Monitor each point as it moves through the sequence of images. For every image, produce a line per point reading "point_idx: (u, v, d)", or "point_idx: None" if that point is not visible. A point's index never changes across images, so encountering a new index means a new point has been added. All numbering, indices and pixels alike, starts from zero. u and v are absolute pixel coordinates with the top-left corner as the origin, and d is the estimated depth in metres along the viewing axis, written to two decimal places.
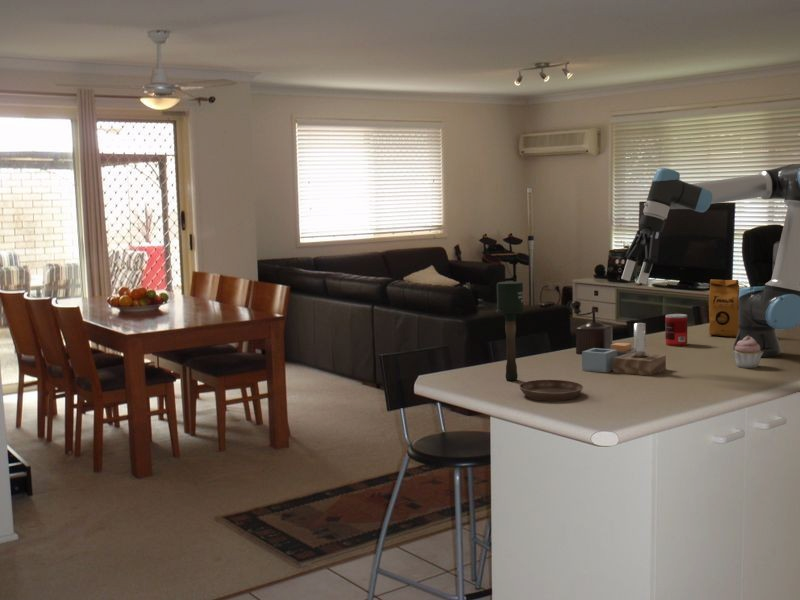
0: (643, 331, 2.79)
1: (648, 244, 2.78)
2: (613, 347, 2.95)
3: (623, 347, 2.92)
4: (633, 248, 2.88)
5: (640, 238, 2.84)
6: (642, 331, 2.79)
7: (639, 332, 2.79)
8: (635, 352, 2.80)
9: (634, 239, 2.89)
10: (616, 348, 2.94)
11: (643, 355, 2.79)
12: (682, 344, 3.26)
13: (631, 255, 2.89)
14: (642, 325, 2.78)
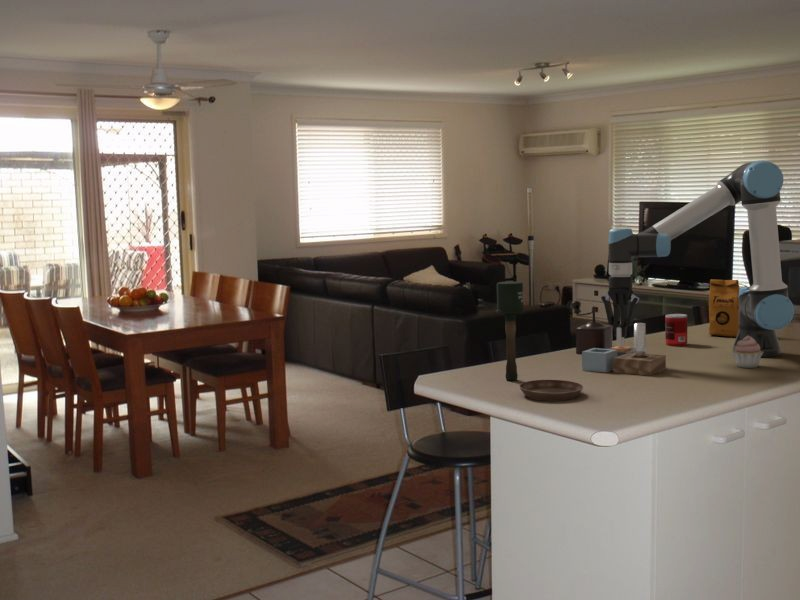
0: (643, 331, 2.79)
1: (624, 307, 2.93)
2: None
3: (623, 350, 2.92)
4: (614, 313, 2.94)
5: (616, 298, 2.93)
6: (642, 331, 2.79)
7: (639, 332, 2.79)
8: (635, 352, 2.80)
9: (606, 305, 2.96)
10: None
11: (643, 355, 2.79)
12: (682, 344, 3.26)
13: (617, 320, 2.95)
14: (642, 325, 2.78)
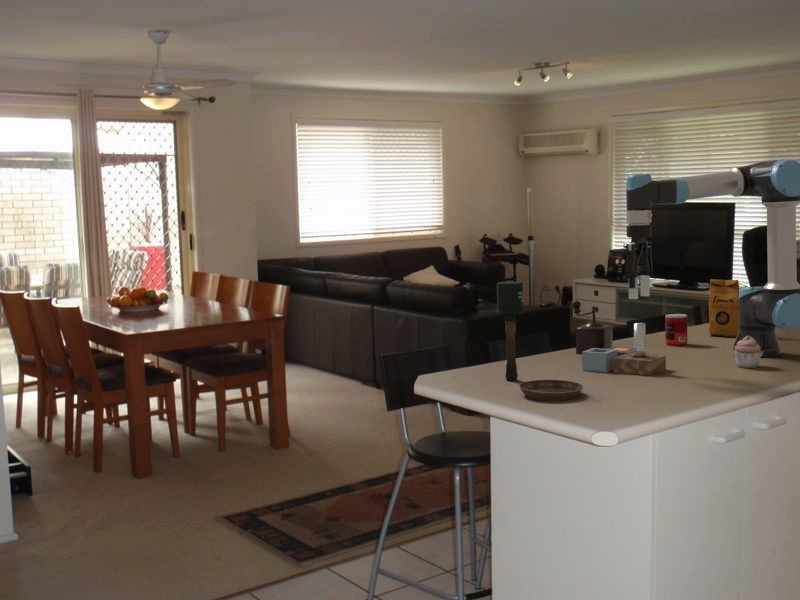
0: (643, 331, 2.79)
1: None
2: None
3: None
4: (637, 263, 2.74)
5: None
6: (642, 331, 2.79)
7: (639, 332, 2.79)
8: (635, 352, 2.80)
9: (634, 254, 2.72)
10: None
11: (643, 355, 2.79)
12: (682, 344, 3.26)
13: None
14: (642, 325, 2.78)
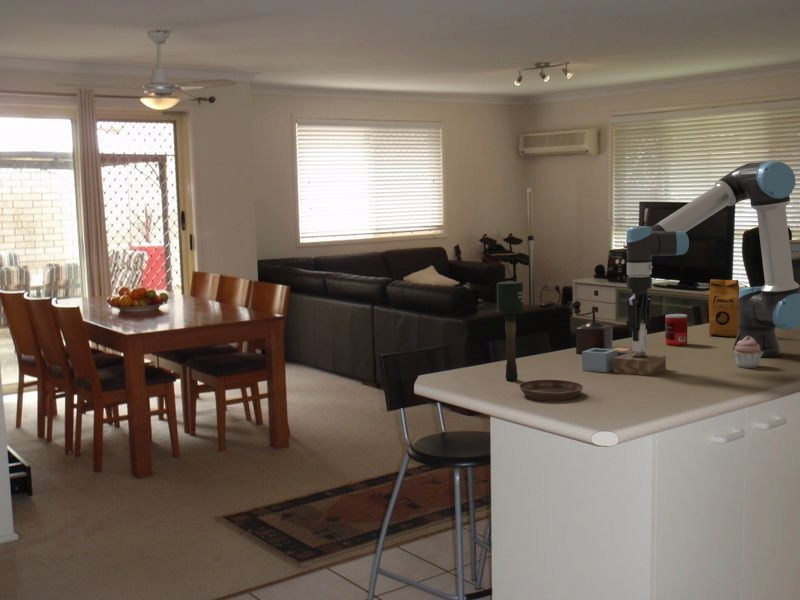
0: (643, 331, 2.79)
1: None
2: None
3: None
4: (639, 316, 2.77)
5: None
6: (642, 331, 2.79)
7: None
8: (635, 352, 2.80)
9: (636, 308, 2.75)
10: None
11: (643, 355, 2.79)
12: (682, 344, 3.26)
13: None
14: (642, 325, 2.78)
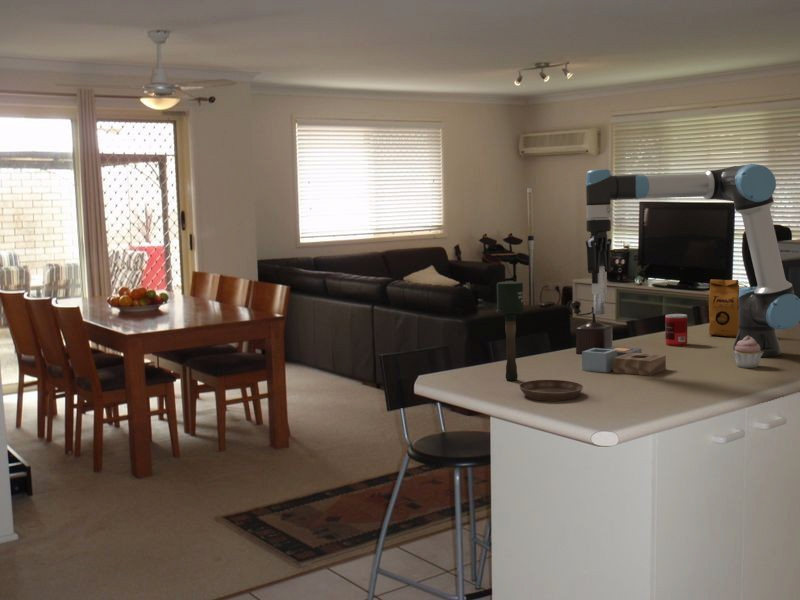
0: (602, 274, 2.82)
1: None
2: None
3: None
4: (598, 258, 2.80)
5: None
6: (601, 273, 2.81)
7: None
8: (594, 295, 2.83)
9: (594, 250, 2.78)
10: None
11: (602, 297, 2.82)
12: (682, 344, 3.26)
13: None
14: (601, 268, 2.81)
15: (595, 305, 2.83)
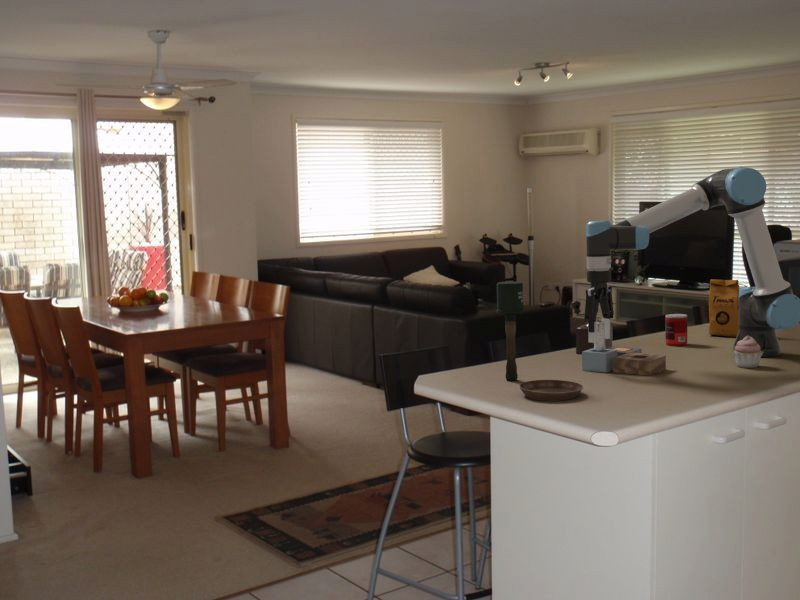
0: (603, 330, 2.84)
1: None
2: None
3: None
4: (596, 308, 2.80)
5: None
6: (602, 330, 2.83)
7: (598, 331, 2.83)
8: (595, 351, 2.85)
9: (593, 299, 2.79)
10: None
11: None
12: (682, 344, 3.26)
13: None
14: (602, 324, 2.83)
15: None
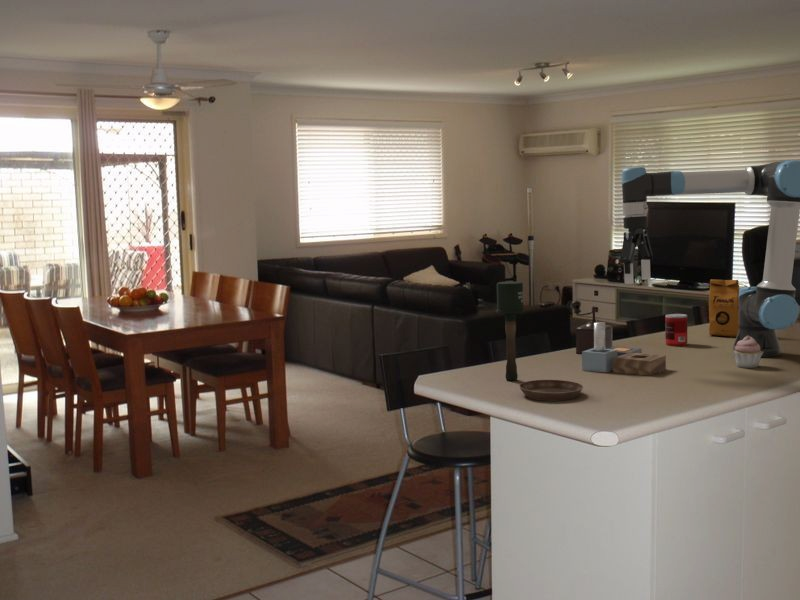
0: (603, 330, 2.84)
1: None
2: None
3: None
4: (633, 250, 2.83)
5: None
6: (602, 330, 2.83)
7: (598, 331, 2.83)
8: (595, 351, 2.85)
9: (631, 241, 2.82)
10: None
11: None
12: (682, 344, 3.26)
13: None
14: (602, 324, 2.83)
15: None
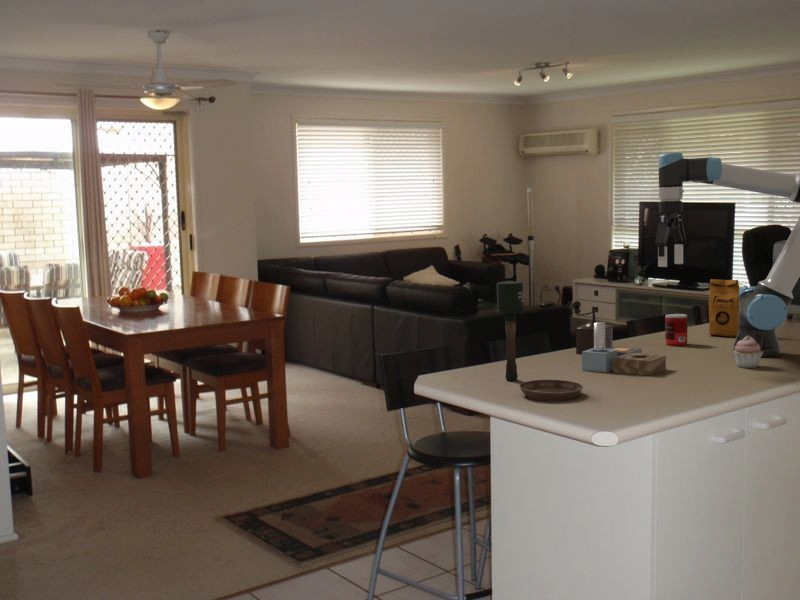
0: (603, 330, 2.84)
1: None
2: None
3: None
4: (668, 234, 2.89)
5: None
6: (602, 330, 2.83)
7: (598, 331, 2.83)
8: (595, 351, 2.85)
9: (666, 225, 2.88)
10: None
11: None
12: (682, 344, 3.26)
13: None
14: (602, 324, 2.83)
15: None
